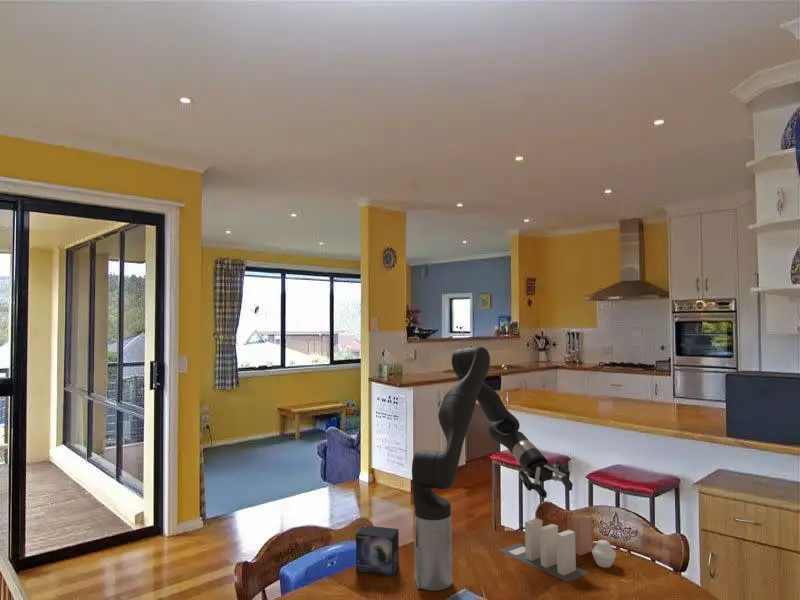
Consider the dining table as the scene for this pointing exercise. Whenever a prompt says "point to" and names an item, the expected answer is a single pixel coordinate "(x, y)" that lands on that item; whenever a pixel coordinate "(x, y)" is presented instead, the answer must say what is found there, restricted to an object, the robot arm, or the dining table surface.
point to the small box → (377, 550)
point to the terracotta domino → (583, 535)
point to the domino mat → (520, 554)
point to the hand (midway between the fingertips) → (558, 492)
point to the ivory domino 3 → (566, 552)
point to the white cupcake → (603, 554)
